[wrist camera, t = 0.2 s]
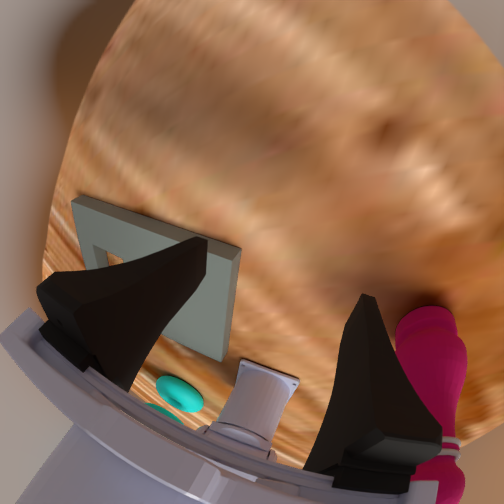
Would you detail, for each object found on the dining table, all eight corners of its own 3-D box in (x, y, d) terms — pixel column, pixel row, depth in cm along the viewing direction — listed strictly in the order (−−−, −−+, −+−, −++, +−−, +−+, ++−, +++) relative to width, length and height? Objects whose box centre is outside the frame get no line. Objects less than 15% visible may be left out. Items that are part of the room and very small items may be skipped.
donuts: (162, 423, 35) (191, 448, 39) (191, 378, 43) (214, 407, 47) (124, 405, 39) (153, 432, 44) (152, 368, 47) (176, 396, 51)
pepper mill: (439, 286, 19) (444, 545, 3) (469, 330, 20) (474, 534, 4) (376, 326, 23) (329, 547, 8) (412, 361, 24) (386, 546, 8)
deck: (227, 350, 34) (221, 362, 32) (102, 288, 39) (94, 295, 37) (241, 248, 25) (232, 260, 23) (82, 194, 29) (70, 201, 28)
